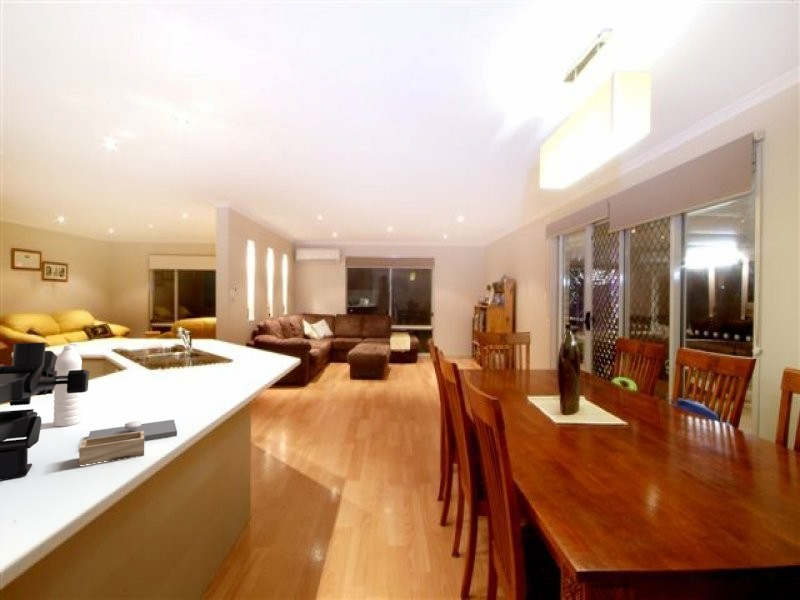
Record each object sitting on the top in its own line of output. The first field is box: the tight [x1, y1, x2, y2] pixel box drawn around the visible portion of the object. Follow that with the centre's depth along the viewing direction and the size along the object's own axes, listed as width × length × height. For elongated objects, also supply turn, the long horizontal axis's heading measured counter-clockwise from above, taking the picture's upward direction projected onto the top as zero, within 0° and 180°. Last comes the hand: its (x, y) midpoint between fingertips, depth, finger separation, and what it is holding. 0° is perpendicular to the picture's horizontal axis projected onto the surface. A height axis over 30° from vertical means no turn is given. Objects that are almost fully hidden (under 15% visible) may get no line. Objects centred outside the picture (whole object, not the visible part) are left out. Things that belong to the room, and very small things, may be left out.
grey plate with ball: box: [87, 419, 178, 442], centre depth 112 cm, size 12×21×4 cm, turn 124°
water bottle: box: [53, 342, 83, 428], centre depth 122 cm, size 9×6×25 cm
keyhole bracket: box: [78, 431, 145, 467], centre depth 98 cm, size 6×13×4 cm, turn 124°
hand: (56, 382), depth 111 cm, fingers open, 9 cm apart
